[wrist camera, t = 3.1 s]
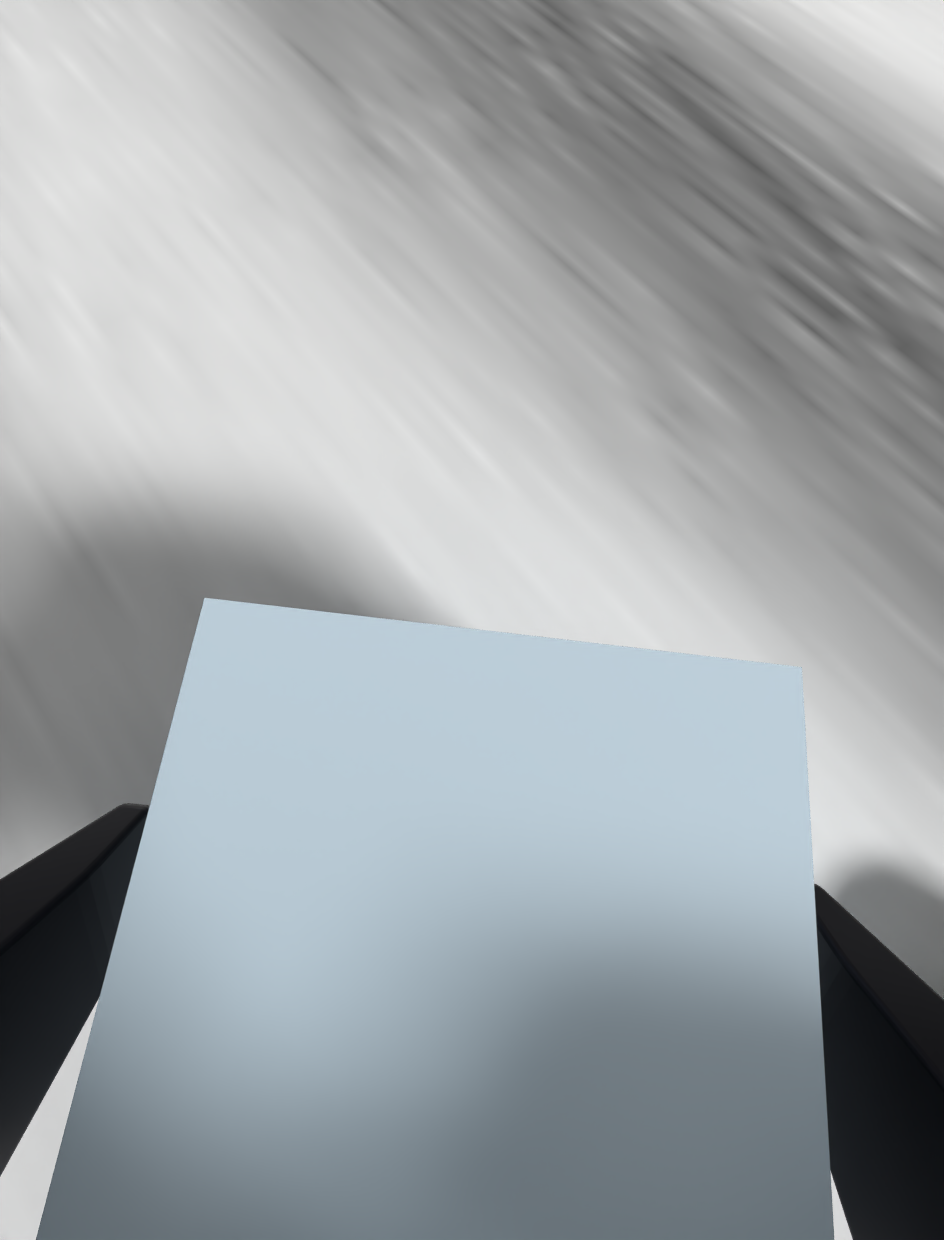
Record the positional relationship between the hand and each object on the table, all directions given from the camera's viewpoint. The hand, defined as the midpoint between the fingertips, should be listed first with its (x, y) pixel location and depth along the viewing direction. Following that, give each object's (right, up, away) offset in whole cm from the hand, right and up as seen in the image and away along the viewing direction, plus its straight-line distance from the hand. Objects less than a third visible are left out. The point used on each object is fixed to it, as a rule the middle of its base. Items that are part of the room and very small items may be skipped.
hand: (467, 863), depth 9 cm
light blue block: (0, -3, +6) cm, 7 cm away
